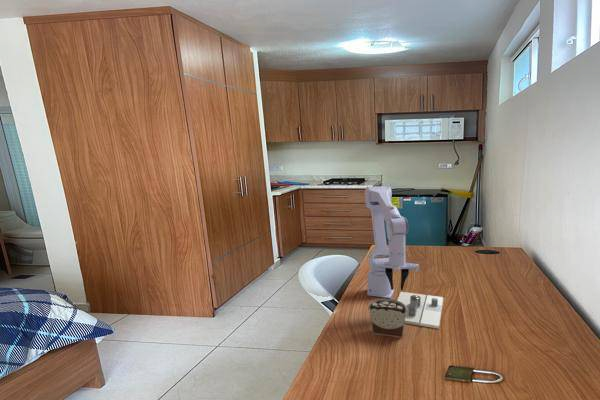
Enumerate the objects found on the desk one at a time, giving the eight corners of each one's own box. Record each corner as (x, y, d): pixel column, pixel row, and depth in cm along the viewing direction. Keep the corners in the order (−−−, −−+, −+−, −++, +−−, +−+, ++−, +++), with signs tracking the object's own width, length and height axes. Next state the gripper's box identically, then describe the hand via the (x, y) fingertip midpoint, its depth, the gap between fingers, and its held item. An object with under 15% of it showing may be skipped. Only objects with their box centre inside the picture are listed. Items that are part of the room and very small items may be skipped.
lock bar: (411, 301, 136) (411, 293, 135) (421, 303, 134) (421, 294, 134) (406, 314, 126) (406, 305, 125) (417, 315, 125) (417, 306, 124)
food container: (408, 328, 119) (408, 300, 117) (407, 338, 113) (407, 308, 112) (370, 324, 123) (370, 296, 122) (368, 333, 117) (367, 304, 116)
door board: (389, 320, 125) (389, 311, 124) (400, 294, 146) (400, 286, 146) (438, 328, 118) (439, 319, 118) (443, 299, 140) (443, 291, 139)
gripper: (375, 254, 124) (375, 292, 126) (419, 256, 120) (419, 294, 122) (376, 248, 131) (376, 284, 133) (418, 250, 127) (417, 286, 129)
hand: (396, 288), depth 128 cm, fingers open, 3 cm apart
